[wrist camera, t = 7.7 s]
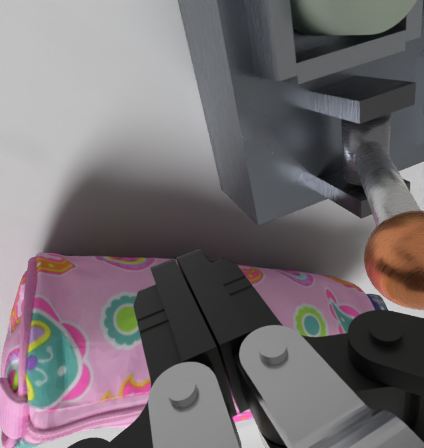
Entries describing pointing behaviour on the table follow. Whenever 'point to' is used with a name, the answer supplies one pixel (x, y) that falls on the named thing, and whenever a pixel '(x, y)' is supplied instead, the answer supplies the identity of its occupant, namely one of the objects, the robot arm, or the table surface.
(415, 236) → the toggle lever
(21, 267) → the table surface
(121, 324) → the pencil case
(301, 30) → the button sage
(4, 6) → the table surface
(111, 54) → the table surface
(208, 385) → the robot arm
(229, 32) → the console
